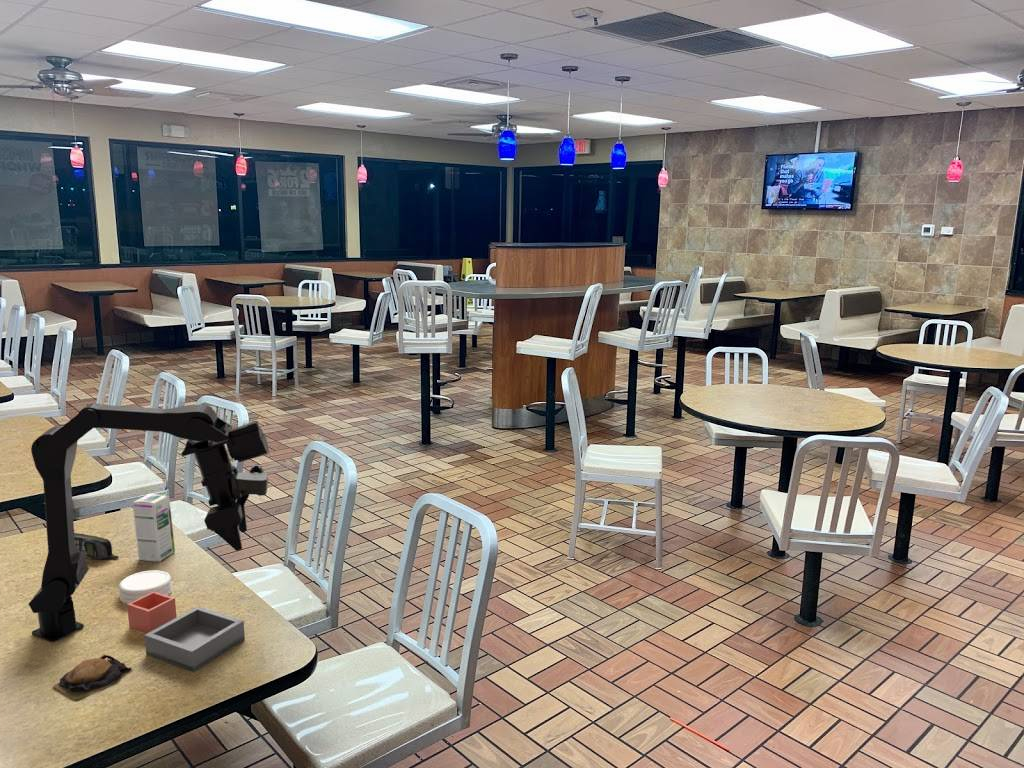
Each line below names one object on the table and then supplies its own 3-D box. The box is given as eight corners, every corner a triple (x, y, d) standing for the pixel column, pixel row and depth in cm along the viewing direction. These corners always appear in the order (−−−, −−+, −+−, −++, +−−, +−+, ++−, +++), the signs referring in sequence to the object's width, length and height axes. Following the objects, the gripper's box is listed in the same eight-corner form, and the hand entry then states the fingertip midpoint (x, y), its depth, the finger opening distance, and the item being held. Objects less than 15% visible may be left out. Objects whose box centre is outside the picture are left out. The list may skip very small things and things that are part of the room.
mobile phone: (58, 535, 181) (108, 542, 176) (69, 530, 183) (118, 537, 179) (61, 554, 182) (111, 562, 177) (71, 549, 184) (121, 557, 180)
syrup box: (160, 562, 177) (154, 503, 174) (137, 560, 178) (131, 500, 176) (175, 552, 183) (170, 494, 180) (153, 550, 184) (148, 492, 181)
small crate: (129, 628, 149) (127, 604, 148) (155, 614, 154) (153, 591, 153) (150, 635, 146) (148, 611, 145) (176, 621, 151) (174, 598, 150)
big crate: (146, 655, 140) (144, 635, 139) (199, 625, 150) (197, 606, 149) (193, 672, 134) (191, 651, 134) (244, 640, 145) (243, 620, 144)
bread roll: (77, 705, 126) (74, 685, 125) (49, 688, 130) (47, 669, 129) (137, 674, 135) (136, 655, 134) (110, 659, 139) (108, 640, 138)
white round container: (114, 593, 163) (112, 578, 162) (163, 580, 169) (162, 565, 169) (127, 611, 155) (126, 595, 155) (178, 596, 162) (177, 581, 161)
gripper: (253, 471, 141) (279, 547, 145) (262, 443, 158) (285, 511, 162) (191, 489, 139) (220, 565, 143) (207, 459, 157) (232, 527, 161)
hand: (242, 540), depth 152 cm, fingers open, 9 cm apart
